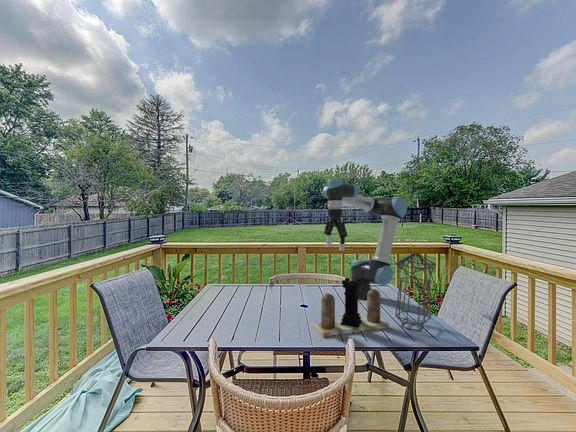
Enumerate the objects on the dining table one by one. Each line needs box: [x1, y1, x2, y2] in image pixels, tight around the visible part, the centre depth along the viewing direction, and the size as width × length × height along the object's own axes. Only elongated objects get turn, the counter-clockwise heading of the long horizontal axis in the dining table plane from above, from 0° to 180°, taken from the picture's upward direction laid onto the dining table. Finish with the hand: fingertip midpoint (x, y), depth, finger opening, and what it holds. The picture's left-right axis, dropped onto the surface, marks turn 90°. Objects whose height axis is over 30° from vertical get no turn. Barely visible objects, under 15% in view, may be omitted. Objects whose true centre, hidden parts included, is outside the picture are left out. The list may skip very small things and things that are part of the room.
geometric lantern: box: [394, 251, 437, 332], centre depth 141 cm, size 16×16×35 cm
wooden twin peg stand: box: [312, 288, 390, 338], centre depth 139 cm, size 34×11×17 cm, turn 109°
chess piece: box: [341, 277, 362, 327], centre depth 139 cm, size 8×8×20 cm
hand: (335, 248), depth 161 cm, fingers open, 13 cm apart
